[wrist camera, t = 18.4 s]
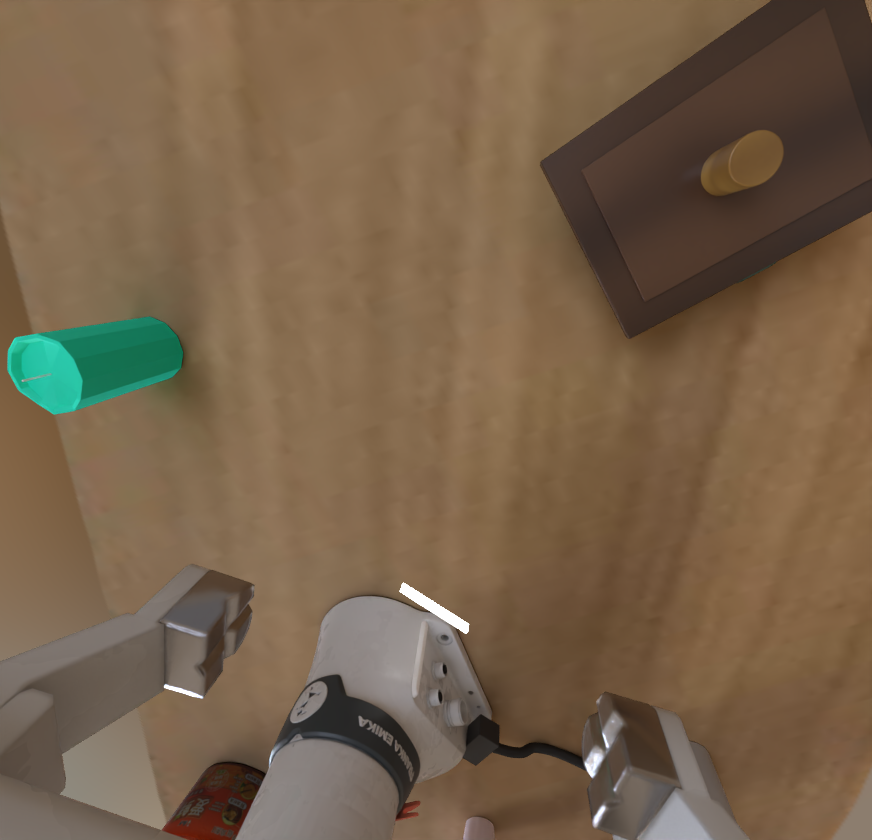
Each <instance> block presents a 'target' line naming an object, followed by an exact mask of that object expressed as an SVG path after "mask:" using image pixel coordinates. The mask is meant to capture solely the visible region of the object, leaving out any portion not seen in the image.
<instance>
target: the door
mask: <svg viewBox="0 0 872 840" xmlns="http://www.w3.org/2000/svg"><path fill="white" fill-rule="evenodd" d="M540 166H541V168H542V170H543V172H544V174H545V176H546V178H547V180H548V182H549V184H550V186H551V188H552V190H553V192H554V194H555V196H556V198H557V200H558V202H559V204H560V206H561V208H562V210H563V212H564V214H565V216H566V218H567V220H568V222H569V224H570V226H571V228H572V230H573V232H574V234H575V236H576V238H577V240H578V242H579V244H580V246H581V248H582V250H583V252H584V254H585V256H586V258H587V260H588V262H589V264H590V266H591V268H592V270H593V272H594V274H595V276H596V278H597V280H598V282H599V284H600V286H601V288H602V290H603V292H604V294H605V296H606V298H607V300H608V302H609V304H610V306H611V308H612V310H613V312H614V314H615V316H616V318H617V320H618V322H619V324H620V326H621V328H622V330H623V332H624V334H625V336H626V337H627V338H629V339H630V338H632V337H634V336H636V335H638V334H640V333H642V332H644V331H646V330H648V329H649V328H651V327H653V326H655V325H657V324H659V323H661V322H663V321H665V320H667V319H668V318H670V317H672V316H674V315H676V314H678V313H680V312H682V311H684V310H686V309H687V308H689V307H691V306H693V305H695V304H697V303H699V302H701V301H703V300H705V299H706V298H708V297H710V296H712V295H714V294H716V293H718V292H720V291H722V290H724V289H725V288H727V287H729V286H731V285H733V284H735V283H737V282H739V281H741V280H743V279H744V278H746V277H748V276H750V275H752V274H754V273H756V272H758V271H760V270H762V269H763V268H765V267H767V266H769V265H771V264H773V263H775V262H777V261H779V260H781V259H782V258H784V257H786V256H788V255H790V254H792V253H794V252H796V251H798V250H800V249H801V248H803V247H805V246H807V245H809V244H811V243H813V242H815V241H817V240H819V239H820V238H822V237H824V236H826V235H828V234H830V233H832V232H834V231H836V230H837V229H839V228H841V227H843V226H845V225H847V224H849V223H851V222H853V221H855V220H856V219H858V218H860V217H862V216H864V215H866V214H868V213H870V212H872V23H871V20H870V17H869V13H868V10H867V7H866V4H865V0H772V1H770V2H769V3H767V4H766V5H764V6H763V7H762V8H760V9H759V10H757V11H756V12H754V13H753V14H751V15H750V16H749V17H747V18H746V19H744V20H743V21H741V22H740V23H739V24H737V25H736V26H734V27H733V28H731V29H730V30H729V31H727V32H726V33H724V34H723V35H721V36H720V37H719V38H717V39H716V40H714V41H713V42H711V43H710V44H708V45H707V46H706V47H704V48H703V49H701V50H700V51H698V52H697V53H696V54H694V55H693V56H691V57H690V58H688V59H687V60H686V61H684V62H683V63H681V64H680V65H678V66H677V67H676V68H674V69H673V70H671V71H670V72H668V73H667V74H665V75H664V76H663V77H661V78H660V79H658V80H657V81H655V82H654V83H653V84H651V85H650V86H648V87H647V88H645V89H644V90H643V91H641V92H640V93H638V94H637V95H635V96H634V97H633V98H631V99H630V100H628V101H627V102H625V103H624V104H622V105H621V106H620V107H618V108H617V109H615V110H614V111H612V112H611V113H610V114H608V115H607V116H605V117H604V118H602V119H601V120H600V121H598V122H597V123H595V124H594V125H592V126H591V127H590V128H588V129H587V130H585V131H584V132H582V133H581V134H579V135H578V136H577V137H575V138H574V139H572V140H571V141H569V142H568V143H567V144H565V145H564V146H562V147H561V148H559V149H558V150H557V151H555V152H554V153H552V154H551V155H549V156H548V157H547V158H545V159H544V160H542V161H541V163H540Z"/></svg>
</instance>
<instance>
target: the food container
mask: <svg viewBox="0 0 872 840" xmlns="http://www.w3.org/2000/svg"><path fill="white" fill-rule="evenodd" d="M265 776H266V775H265V774H263V773H262V772H260V771H257V770H255V769H253V768H251V767H248V766H245V765H242V764H237V763H220V764H215V765H213V766H211V767H209V768H208V769H206V770H205V771H204V773H203V774H202V775H201V777H200V778H199V779H198V781H197V782H196V784H195V785H194V786H193V788H192V789H191V791H190V792H189V793H188V795H187V796H186V797H185V799H184V800H183V802H182V803H181V804H180V806H179V807H178V808H177V810H176V811H175V813H174V814H173V815H172V817H171V818H170V819H169V821H168V822H167V824H166V825H165V826H164V828H163V829H162V831H165V832H168V833H170V834H173V835H176V836H179V837H182V838H185V839H187V840H235V839H236V837H237V835H238V833H239V831H240V829H241V827H242V825H243V822H244V820H245V818H246V816H247V814H248V812H249V810H250V808H251V805H252V803H253V801H254V799H255V797H256V795H257V793H258V791H259V789H260V786H261V784H262V782H263V780H264V778H265Z"/></svg>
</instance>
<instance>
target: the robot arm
mask: <svg viewBox="0 0 872 840" xmlns="http://www.w3.org/2000/svg"><path fill="white" fill-rule="evenodd" d="M400 592H401V593H402V594H404V595H406V596H407V597H409V598H410V599H412V600H414V601H415V602H417V603H418V604H420V605H421V606H423V607H425V608H426V609H428V610H429V611H431V612H433V613H429V612H422V611H419V610H416V609H414V608H412V607H410V606H408V605H406V604H403V603H401V602H398V601H396V600H392V599H389V598H384V597H377V596H362V597H355V598H351V599H348V600H345V601H343V602H341V603H339V604H337V605H336V606H334V607H333V608H332V609H331V610H330V611H329V612H328V613H327V614H326V616H325V617H324V619H323V621H322V624H321V627H320V633H319V640H318V645H317V649H316V653H315V657H314V660H313V664H312V667H311V670H310V673H309V676H308V679H307V682H306V685H305V688H304V690H303V691H302V693H301V694H300V696H299V697H298V699H297V701H296V702H295V704H294V706H293V708H292V709H291V711H290V713H289V715H288V717H287V719H286V721H285V724H284V726H283V728H282V730H281V732H280V734H279V736H278V739H277V741H276V743H275V745H274V748H273V750H272V752H271V754H270V758H269V770H268V772H267V774H266V776H265V778H264V780H263V782H262V784H261V786H260V789H259V791H258V793H257V795H256V797H255V799H254V801H253V803H252V805H251V808H250V810H249V812H248V814H247V816H246V818H245V820H244V822H243V825H242V827H241V829H240V831H239V833H238V835H237V837H236V839H235V840H392V834H393V829H394V825H395V821H398V820H403V819H407V818H412V817H415V816H418V813H416V812H414V813H407V812H408V811H412V810H413V809H415V808H416V807H418V806H419V805H420V801H414V802H410V803H405V802H406V800H407V798H408V796H409V794H410V792H411V790H412V788H413V786H414V784H417V783H420V782H423V781H426V780H428V779H431V778H434V777H436V776H439V775H441V774H444V773H446V772H447V771H449V770H451V769H452V768H454V767H455V766H456V765H457V764H458V763H459V762H460V761H461V759H462V758H464V759H466V760H467V761H469V762H471V763H472V764H474V765H477V764H479V763H480V762H481V761H482V760H483V759H484V758H486V757H487V756H488V755H489V754H490V753H492V752H493V753H497V754H500V755H503V756H507V757H511V758H525V757H527V756H529V755H530V754H532V753H542V754H547V755H550V756H554V757H556V758H559V759H562V760H564V761H566V762H569V763H571V764H573V765H575V766H577V767H579V768H581V769H583V770H586V771H588V773H589V774H590V776H591V777H592V779H593V780H592V781H591V783H590V785H589V787H588V788H587V791H588V798H589V804H590V811H591V817H592V824H593V827H594V828H596V829H599V830H602V831H605V832H607V833H610V834H613V835H616V836H619V837H621V838H624V839H627V840H750V838H749V837H748V836H747V835H746V834H745V832H744V831H743V830H742V829H741V828H740V826H739V825H738V824H737V823H736V822H735V820H734V819H733V818H732V817H731V816H730V814H729V813H728V812H727V811H726V810H725V808H724V807H723V806H722V805H721V804H720V802H718V801H716V800H713V799H711V797H710V795H709V792H708V789H707V787H706V784H705V781H704V779H703V776H702V774H701V771H700V768H699V766H698V763H697V761H696V758H695V755H694V753H693V750H692V747H691V745H690V742H689V740H688V737H687V734H686V732H685V729H684V727H683V724H682V721H681V719H680V717H679V716H678V715H677V714H676V713H675V712H672V711H669V710H665V709H662V708H659V707H655V706H650V705H649V704H646V703H643V702H639V701H636V700H633V699H629V698H626V697H622V696H619V695H616V694H612V693H609V692H604V693H602V694H601V695H600V697H599V699H598V700H597V702H596V703H597V708H598V712H597V713H595V714H592V715H590V716H589V717H588V719H587V722H586V724H585V726H584V730H583V736H582V757H583V758H581V757H579V756H577V755H574V754H572V753H570V752H568V751H565V750H563V749H560V748H557V747H554V746H551V745H548V744H543V743H536V742H533V743H528V744H526V745H525V746H523V747H511V746H507V745H504V744H500V743H499V725H498V724H496V723H495V722H493V721H492V720H491V717H492V711H491V708H490V706H489V703H488V701H487V699H486V696H485V694H484V692H483V690H482V687H481V685H480V683H479V680H478V678H477V676H476V674H475V671H474V669H473V667H472V665H471V662H470V660H469V658H468V655H467V653H466V651H465V649H464V646H463V644H462V642H461V639H460V637H459V635H458V633H457V630H456V628H458V629H459V630H461V631H463V632H464V633H467V632H468V628H469V624H468V623H466V622H465V621H463V620H462V619H460V618H459V617H457V616H455V615H454V614H452V613H451V612H449V611H447V610H446V609H444V608H443V607H441V606H440V605H438V604H436V603H435V602H433V601H432V600H430V599H429V598H427V597H425V596H424V595H422V594H421V593H419V592H417V591H416V590H414V589H413V588H411V587H410V586H408V585H406V584H405V583H403V584H402V586H401V589H400ZM253 597H254V585H253V584H252V583H249V582H246V581H244V580H241V579H238V578H235V577H232V576H229V575H226V574H223V573H220V572H217V571H214V570H210V569H207V568H204V567H201V566H198V565H195V564H191V565H189V566H186V567H185V568H183V569H182V570H181V571H180V572H179V573H178V574H177V575H176V576H175V577H174V578H173V579H172V580H171V581H169V582H168V583H167V584H166V585H165V586H164V587H163V588H162V589H161V590H160V591H159V592H158V593H157V594H156V595H155V596H153V597H152V598H151V599H150V600H149V601H148V602H147V603H146V604H145V605H144V606H143V607H142V608H141V609H140V610H138V611H137V612H136V613H135V614H134V615H133V614H130V613H126V614H123V615H121V616H118V617H116V618H113V619H110V620H108V621H105V622H103V623H100V624H97V625H94V626H92V627H90V628H87V629H84V630H81V631H79V632H76V633H73V634H71V635H68V636H66V637H63V638H60V639H58V640H55V641H52V642H50V643H48V644H45V645H42V646H39V647H37V648H34V649H31V650H29V651H26V652H24V653H21V654H18V655H16V656H13V657H10V658H8V659H5V660H2V661H0V840H187V839H185V838H182V837H179V836H176V835H173V834H170V833H168V832H165V831H162V830H159V829H156V828H153V827H151V826H148V825H145V824H142V823H139V822H136V821H133V820H131V819H128V818H125V817H122V816H119V815H117V814H114V813H111V812H108V811H105V810H102V809H99V808H96V807H94V806H91V805H88V804H85V803H83V802H80V801H77V800H74V799H71V798H68V797H66V796H63V795H60V793H61V792H62V791H63V790H64V788H65V782H66V777H65V770H64V764H63V757H62V754H63V753H64V752H66V751H68V750H69V749H71V748H72V747H74V746H76V745H77V744H79V743H80V742H82V741H84V740H85V739H87V738H88V737H90V736H92V735H93V734H95V733H96V732H98V731H100V730H101V729H103V728H105V727H106V726H108V725H109V724H111V723H113V722H114V721H116V720H117V719H119V718H121V717H122V716H124V715H125V714H127V713H128V712H130V711H132V710H133V709H135V708H137V707H138V706H140V705H141V704H143V703H145V702H146V701H148V700H149V699H151V698H153V697H154V696H156V695H157V694H159V693H161V692H162V691H164V688H168V689H171V690H175V691H178V692H181V693H185V694H188V695H192V696H195V697H199V698H202V699H203V698H204V696H205V695H206V694H207V692H208V691H209V689H210V688H211V687H212V685H213V684H214V682H215V681H216V679H217V678H218V677H219V675H220V674H221V672H222V671H223V659H225V658H227V657H229V656H231V655H233V654H235V652H236V651H237V649H238V648H239V647H240V645H241V644H242V642H243V640H244V638H245V636H246V634H247V632H248V629H249V626H250V623H251V619H252V609H251V608H250V606H249V604H248V603H249V602H250V601H251V599H252V598H253ZM455 627H456V628H455ZM445 635H447V636H445ZM404 803H405V804H404Z"/></svg>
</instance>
